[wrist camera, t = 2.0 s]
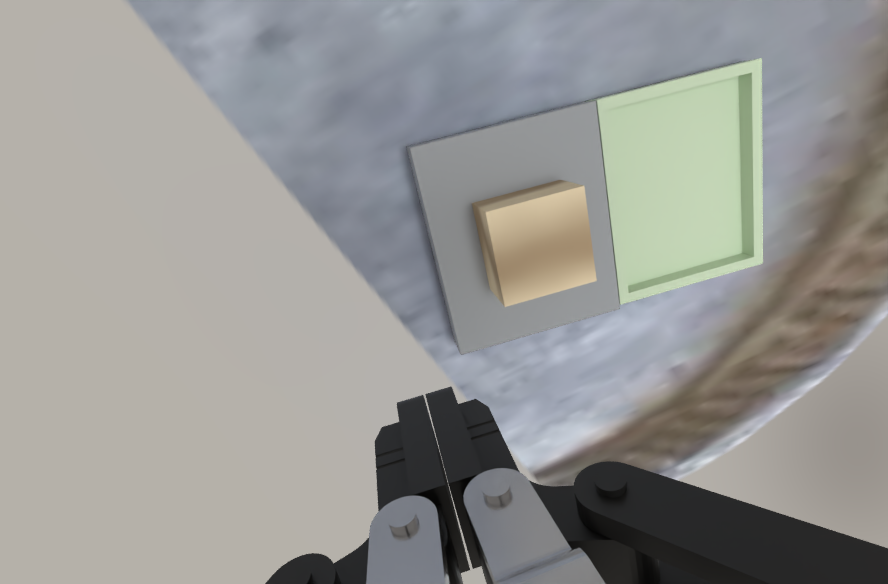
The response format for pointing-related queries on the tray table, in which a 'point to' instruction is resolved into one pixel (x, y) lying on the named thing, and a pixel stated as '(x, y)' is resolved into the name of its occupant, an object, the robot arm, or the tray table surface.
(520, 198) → the tan square block
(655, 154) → the box
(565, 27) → the tray table surface
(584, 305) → the plate
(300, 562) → the robot arm
